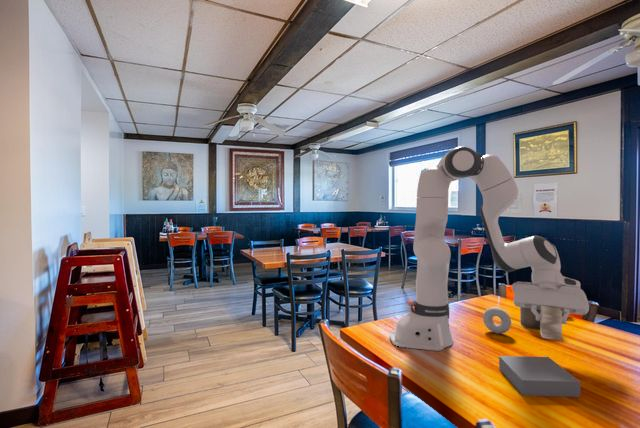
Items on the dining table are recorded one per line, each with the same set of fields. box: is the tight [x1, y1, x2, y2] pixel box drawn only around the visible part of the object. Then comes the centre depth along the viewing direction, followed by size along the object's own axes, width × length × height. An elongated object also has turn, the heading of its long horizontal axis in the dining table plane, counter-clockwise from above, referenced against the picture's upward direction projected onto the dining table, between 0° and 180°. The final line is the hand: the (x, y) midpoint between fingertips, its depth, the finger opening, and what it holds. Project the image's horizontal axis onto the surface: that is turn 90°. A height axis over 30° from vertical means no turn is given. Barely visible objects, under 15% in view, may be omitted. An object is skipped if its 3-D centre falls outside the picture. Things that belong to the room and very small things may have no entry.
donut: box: [482, 306, 512, 335], centre depth 128 cm, size 10×4×10 cm, turn 45°
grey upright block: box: [539, 305, 563, 341], centre depth 105 cm, size 5×5×9 cm
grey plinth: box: [498, 355, 581, 398], centre depth 92 cm, size 14×14×4 cm
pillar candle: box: [519, 307, 540, 330], centre depth 135 cm, size 10×10×15 cm
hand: (551, 321), depth 104 cm, fingers closed on grey upright block, 5 cm apart
